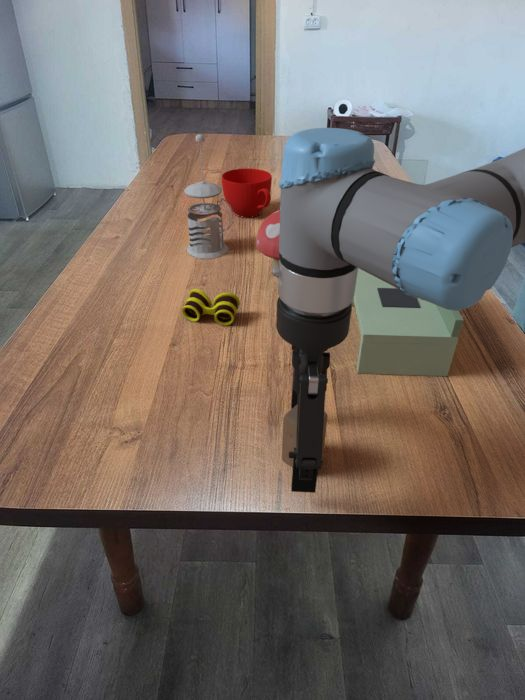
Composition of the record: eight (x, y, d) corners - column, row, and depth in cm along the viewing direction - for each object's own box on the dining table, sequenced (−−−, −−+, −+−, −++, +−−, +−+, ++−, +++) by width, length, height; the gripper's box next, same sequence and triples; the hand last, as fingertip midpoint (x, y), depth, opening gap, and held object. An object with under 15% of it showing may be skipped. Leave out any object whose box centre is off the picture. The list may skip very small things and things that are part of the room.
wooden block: (280, 461, 63) (282, 415, 58) (299, 443, 65) (302, 398, 61) (305, 477, 61) (309, 431, 56) (324, 458, 63) (329, 412, 58)
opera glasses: (182, 324, 90) (178, 303, 86) (191, 305, 93) (187, 284, 90) (234, 331, 88) (231, 310, 84) (241, 311, 92) (239, 290, 88)
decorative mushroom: (332, 289, 99) (339, 217, 90) (271, 302, 95) (272, 228, 86) (302, 262, 109) (306, 194, 100) (246, 272, 105) (245, 203, 96)
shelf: (447, 376, 77) (464, 320, 71) (357, 373, 77) (366, 317, 71) (417, 304, 94) (429, 253, 88) (344, 302, 95) (350, 251, 89)
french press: (199, 237, 119) (191, 127, 104) (242, 246, 115) (240, 132, 101) (177, 253, 112) (165, 137, 97) (222, 263, 108) (216, 143, 93)
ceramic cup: (247, 231, 123) (246, 191, 117) (214, 210, 134) (212, 173, 128) (289, 220, 128) (290, 182, 122) (254, 201, 140) (254, 165, 134)
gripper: (279, 244, 59) (274, 379, 72) (273, 377, 39) (268, 532, 52) (342, 246, 59) (326, 381, 72) (368, 381, 39) (340, 535, 52)
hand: (302, 445), depth 62 cm, fingers open, 13 cm apart
